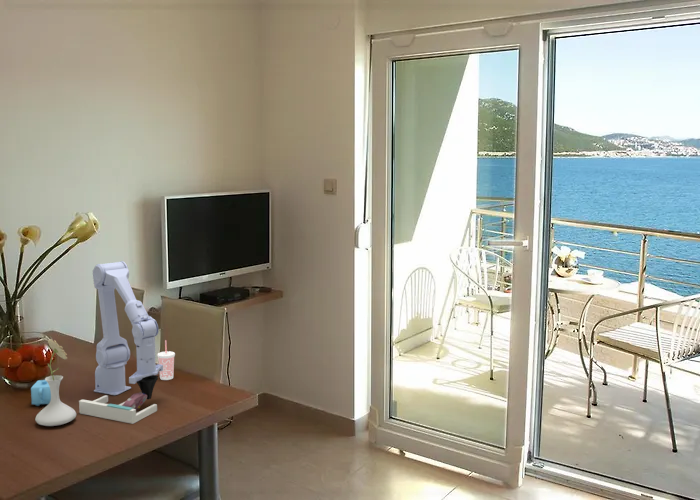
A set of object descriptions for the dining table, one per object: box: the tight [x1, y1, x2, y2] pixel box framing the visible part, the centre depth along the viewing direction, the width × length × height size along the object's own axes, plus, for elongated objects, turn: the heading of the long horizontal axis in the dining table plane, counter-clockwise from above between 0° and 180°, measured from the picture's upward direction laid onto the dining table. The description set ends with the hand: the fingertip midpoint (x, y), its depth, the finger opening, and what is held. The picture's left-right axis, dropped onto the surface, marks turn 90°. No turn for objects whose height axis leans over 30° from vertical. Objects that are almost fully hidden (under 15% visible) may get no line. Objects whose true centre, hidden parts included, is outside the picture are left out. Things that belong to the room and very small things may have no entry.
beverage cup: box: [156, 339, 176, 381], centre depth 248 cm, size 6×6×14 cm
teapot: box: [30, 379, 51, 407], centre depth 224 cm, size 12×6×8 cm, turn 7°
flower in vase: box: [35, 338, 77, 427], centre depth 207 cm, size 13×11×25 cm
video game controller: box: [122, 391, 148, 411], centre depth 216 cm, size 10×5×7 cm, turn 163°
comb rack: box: [78, 394, 158, 425], centre depth 216 cm, size 20×12×4 cm, turn 68°
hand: (147, 398), depth 222 cm, fingers closed
